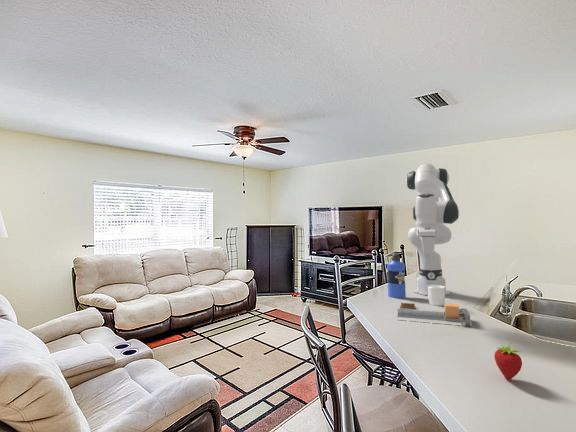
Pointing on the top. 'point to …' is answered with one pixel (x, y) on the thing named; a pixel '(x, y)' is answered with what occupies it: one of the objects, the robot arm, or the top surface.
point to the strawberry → (508, 362)
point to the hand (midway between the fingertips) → (428, 263)
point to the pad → (408, 306)
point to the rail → (435, 316)
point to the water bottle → (396, 277)
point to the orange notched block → (451, 310)
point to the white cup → (436, 295)
